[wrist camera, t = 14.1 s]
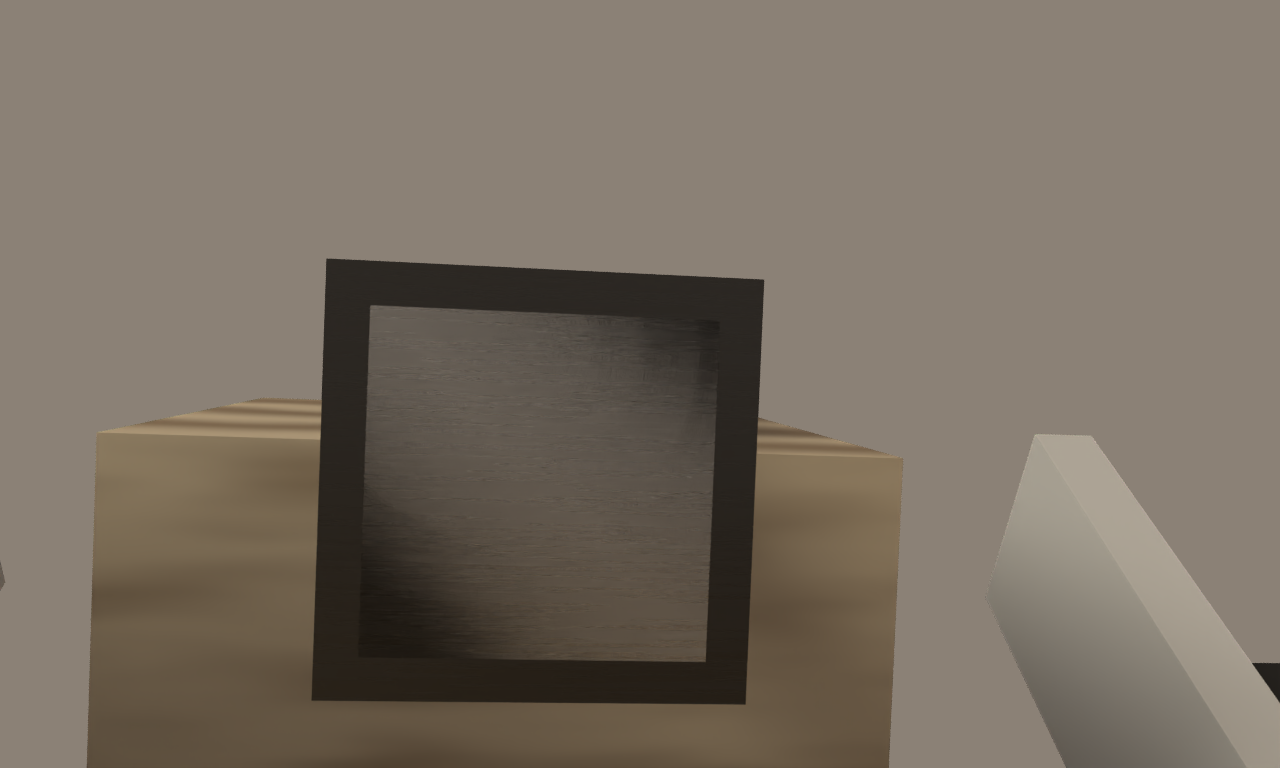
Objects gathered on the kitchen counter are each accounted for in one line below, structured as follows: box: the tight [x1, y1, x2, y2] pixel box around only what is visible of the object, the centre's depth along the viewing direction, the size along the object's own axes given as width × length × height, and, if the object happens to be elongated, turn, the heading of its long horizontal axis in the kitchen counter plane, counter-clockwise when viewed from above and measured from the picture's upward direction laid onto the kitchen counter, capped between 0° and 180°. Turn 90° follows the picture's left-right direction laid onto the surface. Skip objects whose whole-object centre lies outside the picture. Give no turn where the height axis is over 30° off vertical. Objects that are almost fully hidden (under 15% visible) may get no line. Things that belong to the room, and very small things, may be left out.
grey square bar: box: [311, 259, 764, 705], centre depth 23 cm, size 30×3×3 cm, turn 6°
